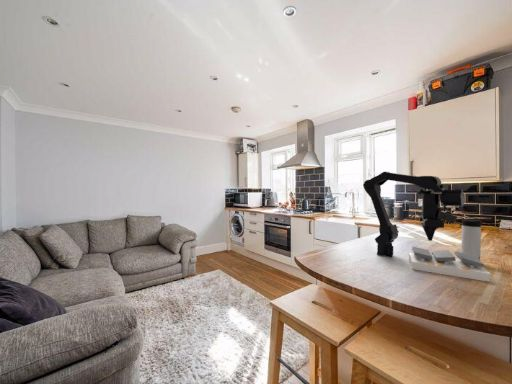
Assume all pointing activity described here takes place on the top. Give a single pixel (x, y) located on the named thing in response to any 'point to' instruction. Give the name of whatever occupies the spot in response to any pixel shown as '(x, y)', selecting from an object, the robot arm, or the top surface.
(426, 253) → the rocker
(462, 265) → the switch unit
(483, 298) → the top surface
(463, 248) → the travel mug
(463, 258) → the plate
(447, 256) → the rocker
